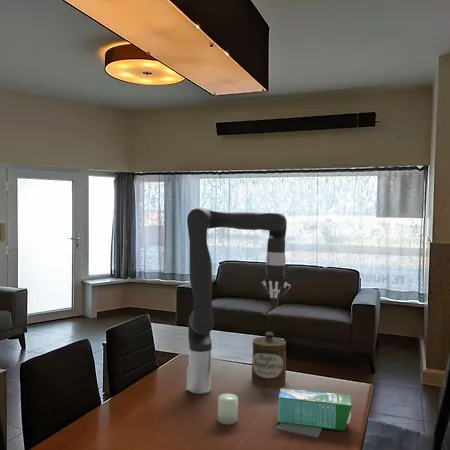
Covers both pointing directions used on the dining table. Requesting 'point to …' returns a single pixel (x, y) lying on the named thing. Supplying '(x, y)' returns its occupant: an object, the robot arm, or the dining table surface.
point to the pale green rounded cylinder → (227, 408)
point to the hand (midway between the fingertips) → (274, 307)
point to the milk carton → (314, 409)
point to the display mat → (300, 429)
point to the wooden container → (269, 361)
